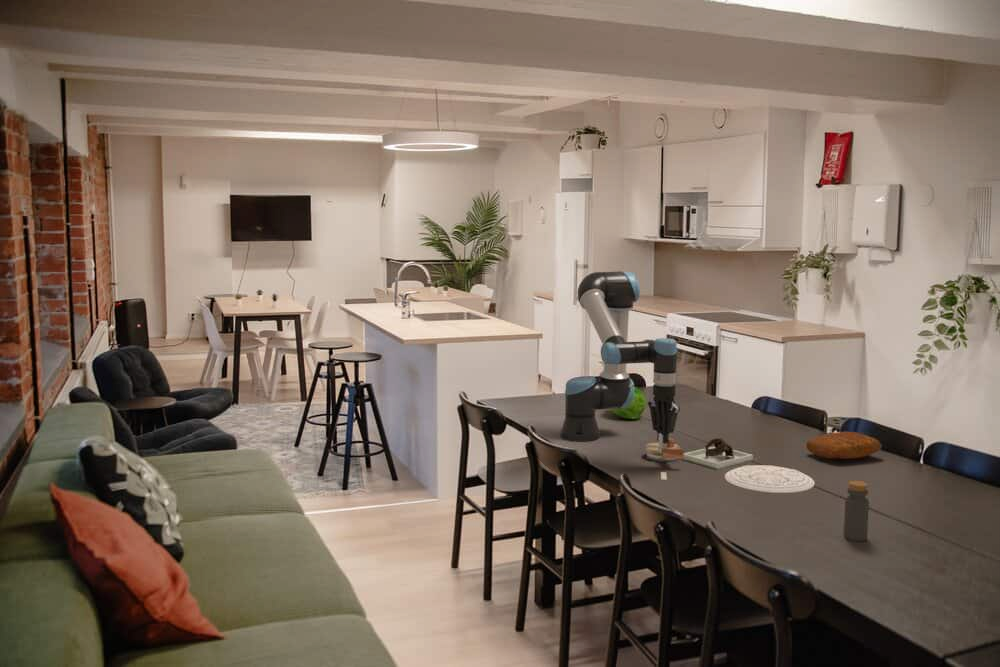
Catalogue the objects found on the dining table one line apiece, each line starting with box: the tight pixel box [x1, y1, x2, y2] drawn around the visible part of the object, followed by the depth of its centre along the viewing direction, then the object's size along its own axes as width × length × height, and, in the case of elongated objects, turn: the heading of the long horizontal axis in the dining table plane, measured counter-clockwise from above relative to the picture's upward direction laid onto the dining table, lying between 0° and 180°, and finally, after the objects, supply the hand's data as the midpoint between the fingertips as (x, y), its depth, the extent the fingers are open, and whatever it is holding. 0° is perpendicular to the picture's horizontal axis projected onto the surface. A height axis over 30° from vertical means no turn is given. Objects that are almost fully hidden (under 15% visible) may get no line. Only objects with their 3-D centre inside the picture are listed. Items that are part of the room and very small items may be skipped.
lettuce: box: [611, 385, 647, 420], centre depth 383 cm, size 15×22×15 cm
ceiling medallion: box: [724, 464, 815, 494], centre depth 291 cm, size 28×28×3 cm
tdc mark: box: [660, 471, 668, 481], centre depth 295 cm, size 8×2×1 cm, turn 171°
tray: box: [681, 445, 754, 470], centre depth 314 cm, size 16×19×2 cm
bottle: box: [843, 480, 870, 542], centre depth 237 cm, size 6×6×15 cm
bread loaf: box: [806, 430, 882, 460], centre depth 316 cm, size 22×17×8 cm
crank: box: [645, 438, 685, 459], centre depth 313 cm, size 22×12×7 cm, turn 3°
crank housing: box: [646, 451, 679, 462], centre depth 318 cm, size 11×11×2 cm
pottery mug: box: [704, 437, 734, 459], centre depth 315 cm, size 12×10×8 cm
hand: (662, 451), depth 305 cm, fingers closed
